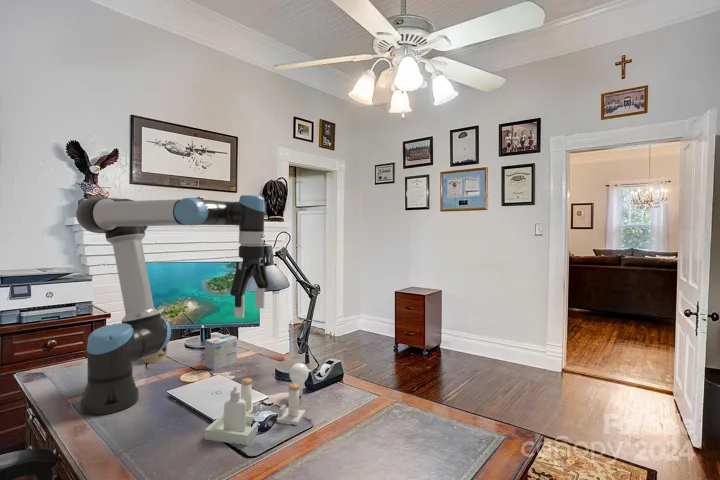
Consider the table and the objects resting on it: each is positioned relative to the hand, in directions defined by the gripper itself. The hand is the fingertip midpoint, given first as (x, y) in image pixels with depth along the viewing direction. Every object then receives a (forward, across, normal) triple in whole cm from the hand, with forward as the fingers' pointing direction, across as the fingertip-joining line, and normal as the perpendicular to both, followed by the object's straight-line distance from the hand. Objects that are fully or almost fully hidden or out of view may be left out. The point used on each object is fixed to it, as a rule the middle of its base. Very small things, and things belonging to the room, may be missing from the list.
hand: (250, 312), depth 123 cm
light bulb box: (+29, +26, +26) cm, 47 cm away
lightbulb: (+29, +8, -14) cm, 33 cm away
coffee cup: (+29, +24, +54) cm, 65 cm away
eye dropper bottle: (+28, -17, -5) cm, 33 cm away
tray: (+29, -17, -5) cm, 34 cm away
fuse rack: (+29, -6, -10) cm, 31 cm away
